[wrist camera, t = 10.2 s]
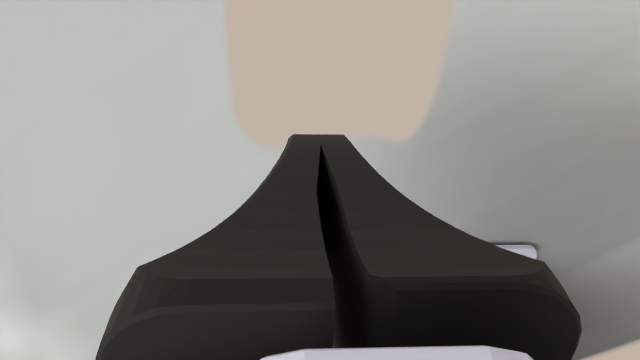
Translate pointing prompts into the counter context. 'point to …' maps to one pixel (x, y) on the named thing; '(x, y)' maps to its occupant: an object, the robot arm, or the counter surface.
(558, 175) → the counter surface
